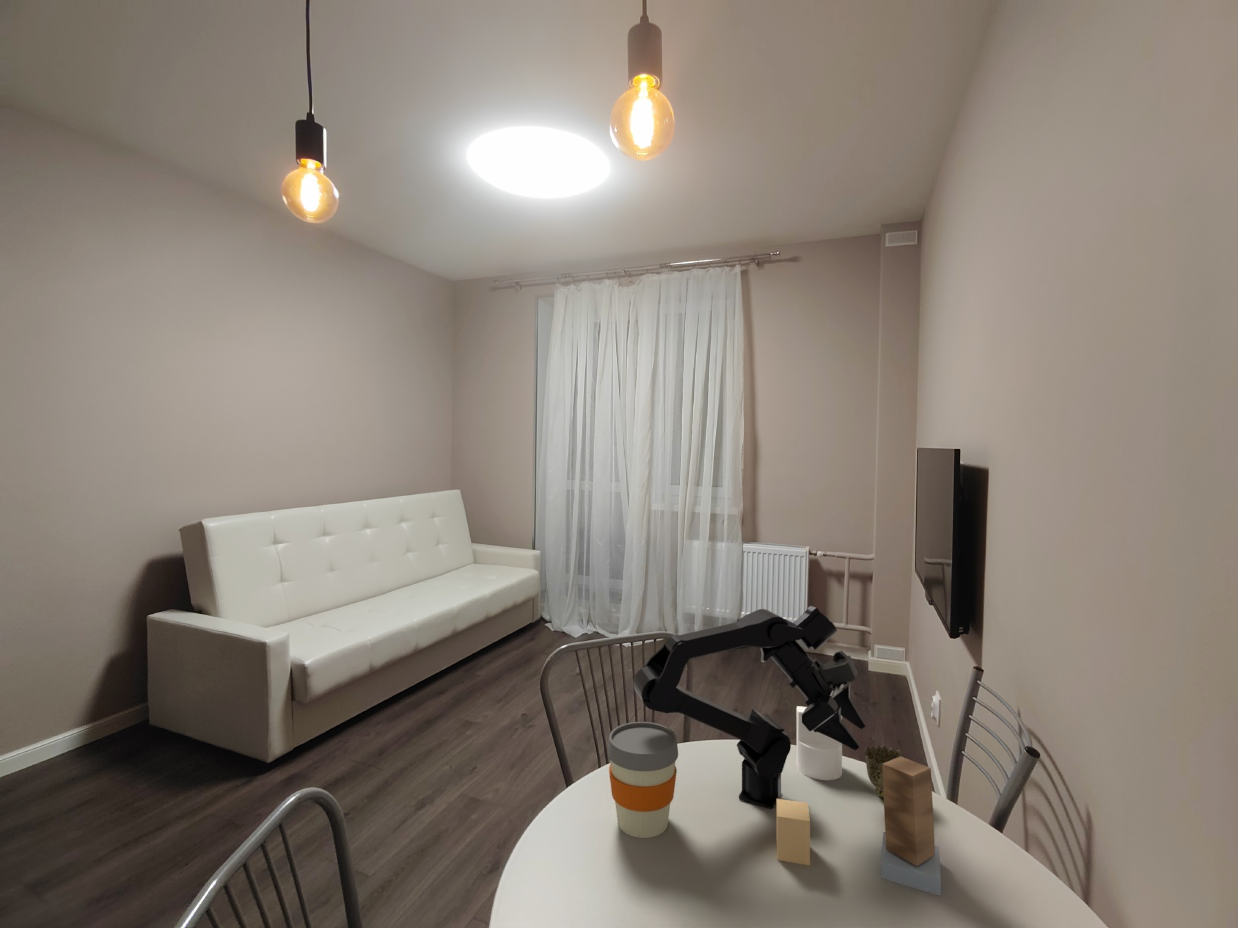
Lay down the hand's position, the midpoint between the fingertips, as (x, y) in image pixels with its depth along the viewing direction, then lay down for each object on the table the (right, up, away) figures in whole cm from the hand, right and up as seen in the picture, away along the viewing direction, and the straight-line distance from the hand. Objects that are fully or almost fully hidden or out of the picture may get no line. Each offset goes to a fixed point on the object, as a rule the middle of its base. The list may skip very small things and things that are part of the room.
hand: (860, 737), depth 103 cm
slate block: (+1, -14, -15) cm, 20 cm away
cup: (+7, -14, +5) cm, 16 cm away
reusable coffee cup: (-40, -14, -3) cm, 42 cm away
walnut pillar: (+1, -11, -15) cm, 18 cm away
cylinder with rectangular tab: (-2, -14, +15) cm, 21 cm away
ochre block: (-16, -14, -11) cm, 23 cm away
